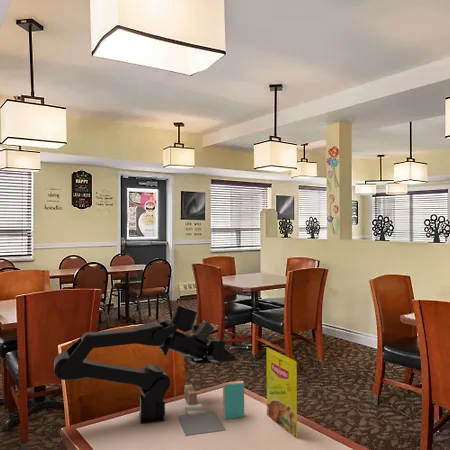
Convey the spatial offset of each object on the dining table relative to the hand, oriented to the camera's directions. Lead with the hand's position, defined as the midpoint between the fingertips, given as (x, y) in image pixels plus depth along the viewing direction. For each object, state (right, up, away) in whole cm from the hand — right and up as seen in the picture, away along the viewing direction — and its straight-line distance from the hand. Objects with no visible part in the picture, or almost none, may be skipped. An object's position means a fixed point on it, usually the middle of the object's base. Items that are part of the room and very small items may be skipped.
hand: (228, 359), depth 133 cm
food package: (+15, -14, -15) cm, 25 cm away
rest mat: (-8, -14, -13) cm, 21 cm away
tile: (+2, -14, -9) cm, 17 cm away
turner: (-11, -14, -2) cm, 17 cm away
